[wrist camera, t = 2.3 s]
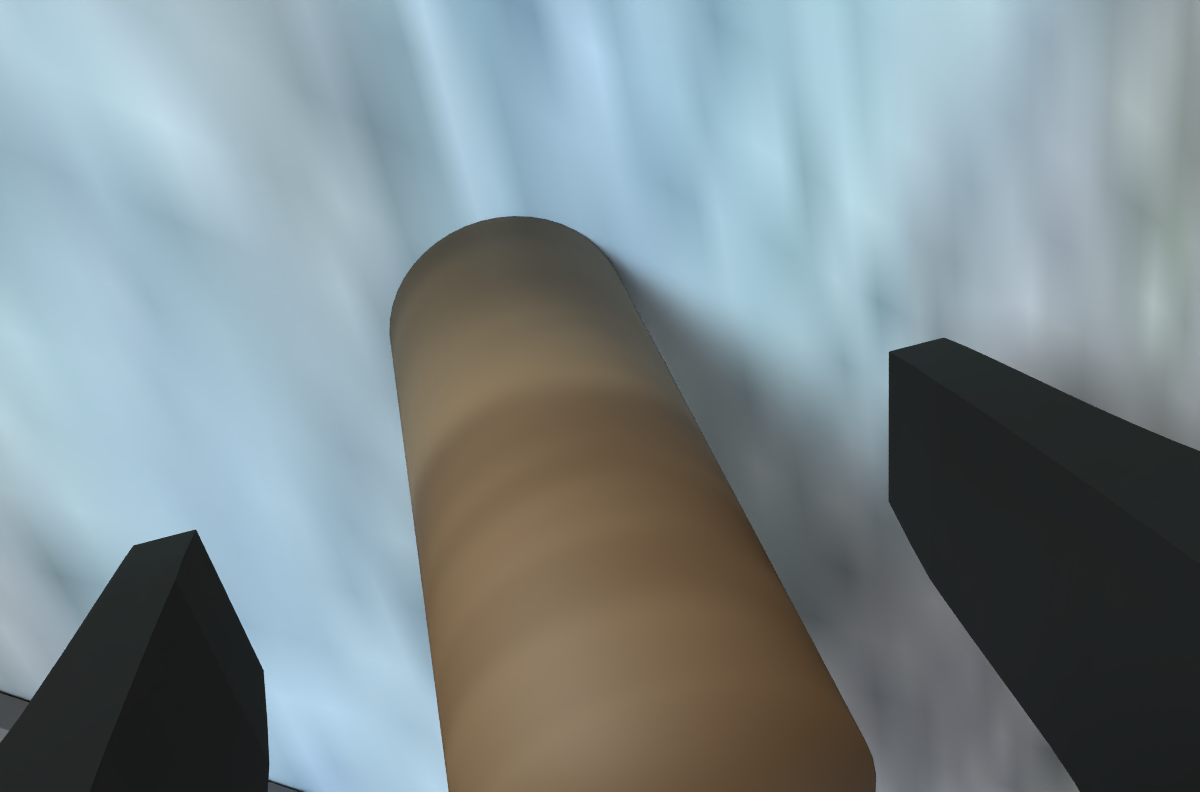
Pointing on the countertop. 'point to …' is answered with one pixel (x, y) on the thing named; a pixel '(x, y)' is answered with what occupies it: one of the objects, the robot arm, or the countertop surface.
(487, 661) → the walnut peg
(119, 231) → the countertop surface
